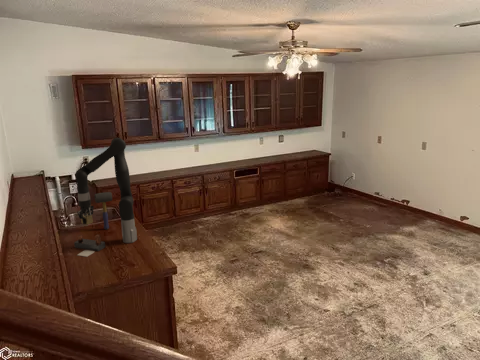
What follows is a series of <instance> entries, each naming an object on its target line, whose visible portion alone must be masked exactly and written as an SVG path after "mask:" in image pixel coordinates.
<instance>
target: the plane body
mask: <svg viewBox="0 0 480 360" xmlns="http://www.w3.org/2000/svg"><path fill="white" fill-rule="evenodd" d="M94 239H95V240H94ZM94 239H88V238H83V235H77V240H76V241H74V242H73V244H74V249H75V248H76V249H81V250H90V251H95V252H100V251H101V250H103V249H105V248H106V242H105V241H103V240H101V239H102V238H101V234H96V235H95V236H94Z"/></svg>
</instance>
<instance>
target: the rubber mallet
mask: <svg viewBox="0 0 480 360" xmlns="http://www.w3.org/2000/svg"><path fill="white" fill-rule="evenodd" d="M112 201H113V193H112V192H111V191H107V192H106V191H105V192H99V193H95V194H94V202H95V203H96V204H98V203H99V204H100V203H101V204H102V220H103V229H104V230H109V229H110V225H109V215H108V211H107V202H112Z"/></svg>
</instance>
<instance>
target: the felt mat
mask: <svg viewBox="0 0 480 360" xmlns="http://www.w3.org/2000/svg"><path fill="white" fill-rule="evenodd" d="M95 252H96V251H94V250H87V249H83V251H81V252H79V253H78V254H77V257H78V256H79V257H86V258H88V257H89V256H91V255H92V254H94V253H95Z"/></svg>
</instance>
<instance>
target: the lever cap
mask: <svg viewBox="0 0 480 360" xmlns="http://www.w3.org/2000/svg"><path fill="white" fill-rule="evenodd" d="M83 217H84V216H83ZM80 221H81V224H82V225H84V224H83V221H82V219H80ZM93 222H94V220H93V214H92V215H88V214H87V215H86V224H85V225H90V224H93Z"/></svg>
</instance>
